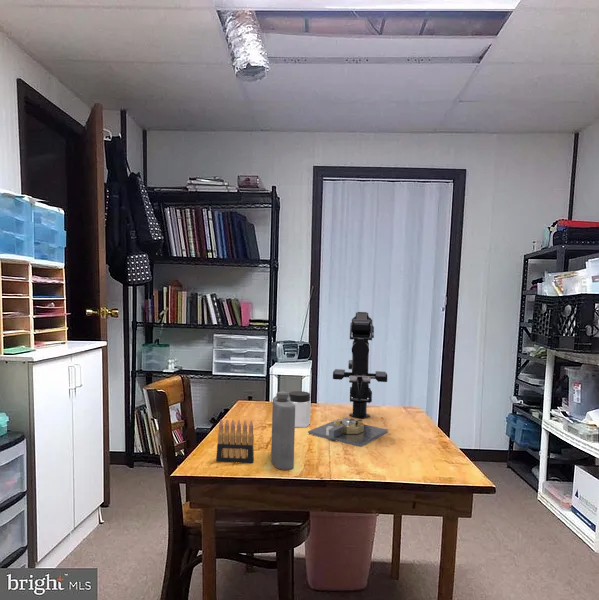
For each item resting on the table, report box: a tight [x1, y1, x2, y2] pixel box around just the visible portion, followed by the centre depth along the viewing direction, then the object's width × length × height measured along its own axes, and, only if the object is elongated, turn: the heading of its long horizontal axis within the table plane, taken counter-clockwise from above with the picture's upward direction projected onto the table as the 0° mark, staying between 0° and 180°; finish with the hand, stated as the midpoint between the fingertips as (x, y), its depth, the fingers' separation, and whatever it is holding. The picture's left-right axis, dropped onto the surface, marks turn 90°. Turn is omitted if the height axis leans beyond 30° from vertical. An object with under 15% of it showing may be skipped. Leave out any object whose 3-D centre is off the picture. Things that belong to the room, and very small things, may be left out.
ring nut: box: [329, 416, 365, 438], centre depth 152 cm, size 17×10×3 cm, turn 144°
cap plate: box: [307, 417, 389, 448], centre depth 155 cm, size 21×21×5 cm
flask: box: [270, 390, 296, 471], centre depth 126 cm, size 15×6×20 cm, turn 9°
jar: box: [288, 390, 312, 428], centre depth 164 cm, size 9×8×12 cm
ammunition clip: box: [215, 419, 255, 464], centre depth 124 cm, size 11×2×12 cm, turn 88°
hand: (359, 400), depth 151 cm, fingers closed
